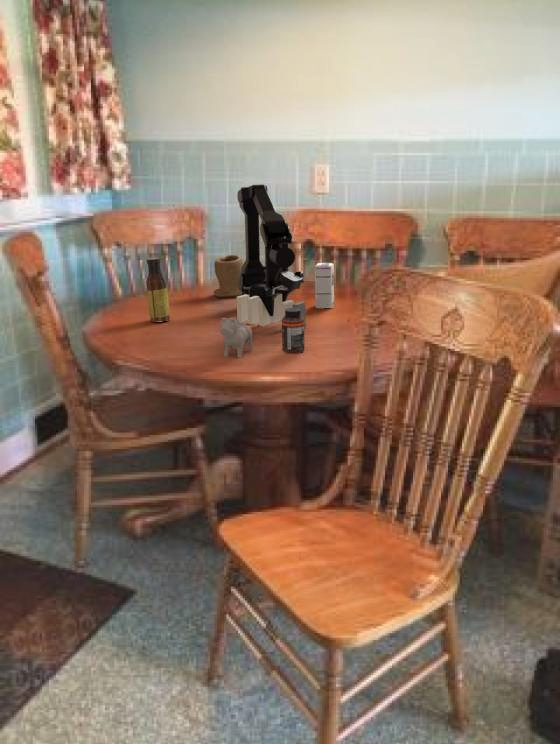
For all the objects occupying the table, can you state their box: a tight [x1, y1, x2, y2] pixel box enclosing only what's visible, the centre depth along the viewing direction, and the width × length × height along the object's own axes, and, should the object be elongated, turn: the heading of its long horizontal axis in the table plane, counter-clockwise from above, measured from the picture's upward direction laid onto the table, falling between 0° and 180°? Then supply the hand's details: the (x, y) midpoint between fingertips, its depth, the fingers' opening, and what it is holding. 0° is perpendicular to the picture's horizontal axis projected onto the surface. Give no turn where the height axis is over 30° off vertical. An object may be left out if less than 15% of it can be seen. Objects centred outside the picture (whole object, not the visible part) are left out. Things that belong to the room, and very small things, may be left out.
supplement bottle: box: [281, 308, 305, 354], centre depth 173 cm, size 6×6×11 cm
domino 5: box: [280, 299, 295, 330], centre depth 197 cm, size 2×4×8 cm, turn 144°
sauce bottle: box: [145, 257, 171, 322], centre depth 206 cm, size 7×6×20 cm
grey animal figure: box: [219, 317, 253, 358], centre depth 171 cm, size 5×13×11 cm, turn 158°
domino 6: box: [292, 301, 307, 330], centre depth 194 cm, size 2×4×8 cm, turn 144°
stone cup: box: [213, 254, 245, 298], centre depth 242 cm, size 15×12×15 cm
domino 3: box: [258, 299, 273, 327], centre depth 201 cm, size 2×4×8 cm, turn 144°
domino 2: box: [247, 296, 260, 325], centre depth 204 cm, size 2×4×8 cm, turn 144°
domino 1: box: [236, 294, 250, 323], centre depth 206 cm, size 2×4×8 cm, turn 144°
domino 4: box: [270, 293, 282, 324], centre depth 199 cm, size 2×4×8 cm, turn 144°
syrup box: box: [314, 262, 335, 309], centre depth 222 cm, size 6×6×14 cm
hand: (276, 314), depth 199 cm, fingers closed on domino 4, 4 cm apart
